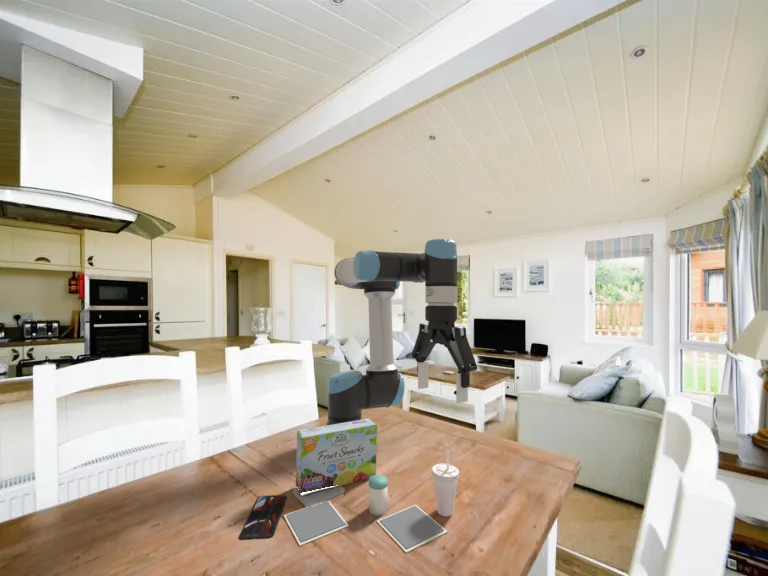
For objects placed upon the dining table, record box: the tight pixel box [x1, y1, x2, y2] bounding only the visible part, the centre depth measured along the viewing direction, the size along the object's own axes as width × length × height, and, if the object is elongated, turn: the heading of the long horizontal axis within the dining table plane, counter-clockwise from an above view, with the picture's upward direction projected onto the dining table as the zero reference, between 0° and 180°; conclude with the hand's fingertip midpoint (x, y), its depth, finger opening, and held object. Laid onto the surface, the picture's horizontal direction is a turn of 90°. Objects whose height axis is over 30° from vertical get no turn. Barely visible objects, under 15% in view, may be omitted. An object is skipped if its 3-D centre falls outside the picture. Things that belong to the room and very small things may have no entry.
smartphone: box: [238, 494, 288, 541], centre depth 78 cm, size 7×1×15 cm
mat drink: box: [376, 504, 448, 554], centre depth 74 cm, size 11×11×1 cm
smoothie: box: [431, 450, 460, 517], centre depth 80 cm, size 6×6×14 cm
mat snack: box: [283, 500, 349, 547], centre depth 76 cm, size 11×11×1 cm
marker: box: [368, 474, 389, 517], centre depth 80 cm, size 4×4×7 cm
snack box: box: [295, 418, 378, 494], centre depth 92 cm, size 21×6×15 cm, turn 117°
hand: (441, 394), depth 81 cm, fingers open, 13 cm apart
